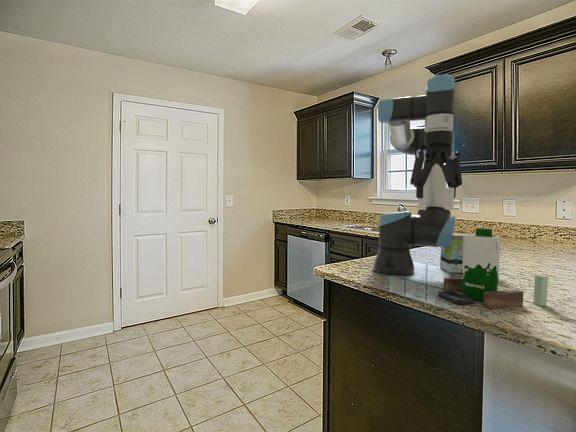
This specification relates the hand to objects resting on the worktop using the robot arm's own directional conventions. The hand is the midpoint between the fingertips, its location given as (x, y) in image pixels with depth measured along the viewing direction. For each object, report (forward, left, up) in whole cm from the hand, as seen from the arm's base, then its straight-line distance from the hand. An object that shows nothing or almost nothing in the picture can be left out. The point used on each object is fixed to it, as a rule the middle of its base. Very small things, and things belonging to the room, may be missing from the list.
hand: (435, 209), depth 96 cm
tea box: (-24, +34, -26) cm, 49 cm away
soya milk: (+6, +11, -26) cm, 28 cm away
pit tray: (+6, +3, -25) cm, 26 cm away
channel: (+6, +11, -25) cm, 29 cm away
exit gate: (+6, +23, -25) cm, 35 cm away
